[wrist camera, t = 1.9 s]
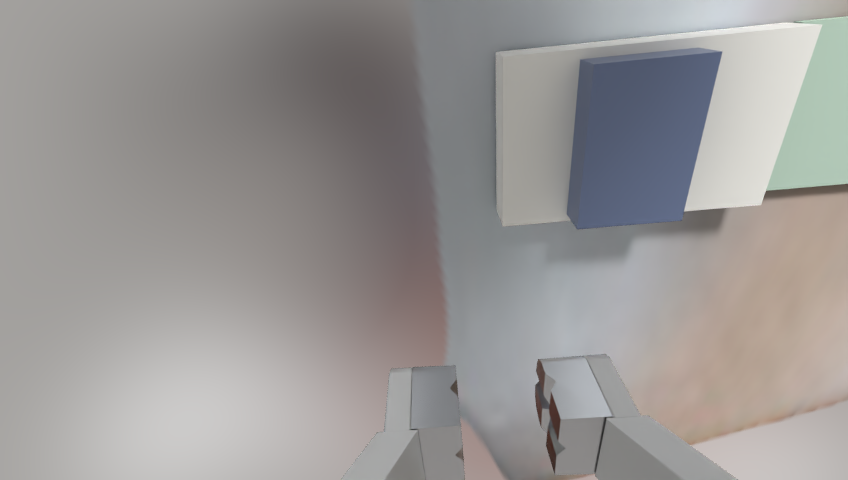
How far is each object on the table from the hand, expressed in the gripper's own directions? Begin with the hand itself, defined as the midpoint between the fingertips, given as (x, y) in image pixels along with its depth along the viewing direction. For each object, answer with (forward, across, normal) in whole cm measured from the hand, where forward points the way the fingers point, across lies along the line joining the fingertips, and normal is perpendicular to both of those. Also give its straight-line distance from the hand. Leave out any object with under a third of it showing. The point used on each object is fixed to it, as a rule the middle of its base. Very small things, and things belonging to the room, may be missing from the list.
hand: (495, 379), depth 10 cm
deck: (+19, -11, 0) cm, 22 cm away
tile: (+17, -10, 0) cm, 19 cm away
